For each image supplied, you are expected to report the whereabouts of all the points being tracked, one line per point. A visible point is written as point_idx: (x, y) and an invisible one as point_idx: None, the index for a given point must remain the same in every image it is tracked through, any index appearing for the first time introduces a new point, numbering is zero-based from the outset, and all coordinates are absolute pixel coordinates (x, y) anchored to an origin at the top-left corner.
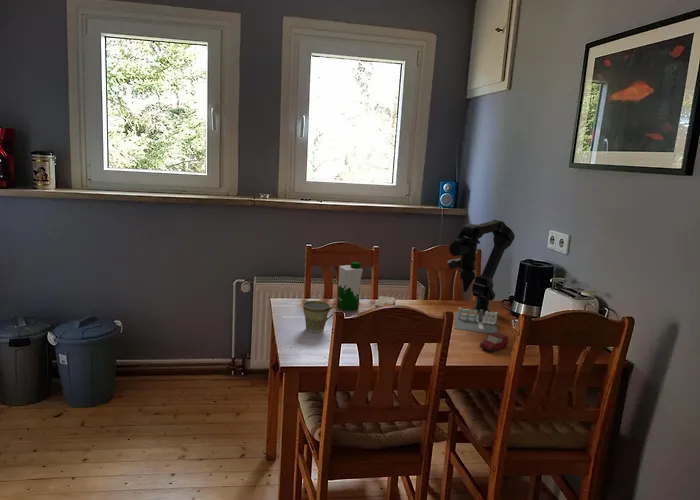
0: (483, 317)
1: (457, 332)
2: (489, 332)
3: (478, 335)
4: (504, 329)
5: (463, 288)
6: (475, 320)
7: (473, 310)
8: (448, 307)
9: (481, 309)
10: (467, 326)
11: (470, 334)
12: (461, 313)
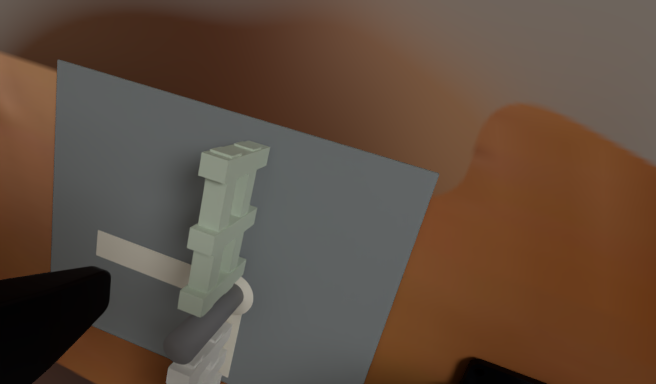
0: (324, 356)
1: (5, 59)
2: (58, 268)
3: (5, 184)
4: (141, 380)
5: (17, 279)
6: (246, 270)
7: (207, 284)
8: (599, 153)
9: (188, 352)
10: (114, 164)
11: (3, 139)
12: (398, 220)
